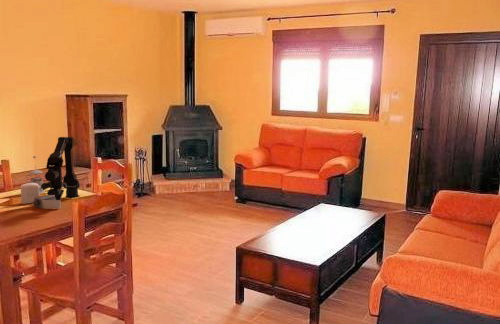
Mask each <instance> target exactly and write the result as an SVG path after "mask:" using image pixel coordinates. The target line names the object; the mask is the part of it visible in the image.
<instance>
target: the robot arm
mask: <svg viewBox="0 0 500 324" xmlns="http://www.w3.org/2000/svg"><path fill="white" fill-rule="evenodd" d="M75 145H76V138H74V137H73V136H59V137H58V138H57V142H56V146H55V148H54V151H53V152H52V153H51V154H49V156H48V157H47V161H46V166H45V169H46V170H47V171H46V172H45V173H44V179H45V180H46V181H47V182H43V183H42V185H41V188H42V189H43V190H44V191H45V190H47V189H49V190H47V192H46V193H47V194H46V195H54V196H55V198H56V200H60V201H61V199H62V197H63V194H64V192H65V194H66V195H65V198H69V199H74V198H78V197H80V195H79V190H78V189H79V188H81V183H80V181H79V179H78V177H77V176H78V175H76V173H75V172H74V171H75V170H74V157H73V149H74V148H75ZM63 154H64V158H63ZM64 163H65V164H64ZM64 165H65V166H64ZM63 166H64V167H65V174H64V176H63V173H62V172H63V171H62V168H63ZM62 188H64V189H62Z"/></svg>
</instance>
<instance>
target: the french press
mask: <svg viewBox="0 0 500 324" xmlns="http://www.w3.org/2000/svg"><path fill="white" fill-rule="evenodd" d="M32 158H34V159H36V158H37V156H36V155H33V156H32ZM34 165H35V166H34V167H35V169H34V170H31V171H30V172H29V173H28V175H27V176H26V177H25V179H26V180H25V181H26V183H37V184H38V185H39V194H40V195H41V194H44V193H46V191H45V190H43V189H42V188H41V185H42V183H44V180H43V178H42V177H38V176H35V177H32V175H40V174H43V171H41V170H38V169H37V167H36V164H34ZM29 177H31V178H30V181H29V180H28V178H29Z"/></svg>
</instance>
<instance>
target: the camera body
mask: <svg viewBox="0 0 500 324" xmlns="http://www.w3.org/2000/svg"><path fill="white" fill-rule="evenodd" d="M42 200H56V198H55V196H54V195H47V194H46V195H45V194H44V195H41V196H38V197H35V198H34V201H33V203H32V204H33V206H34V207H35V208H39V209H42V210H44V209H43V207H42Z"/></svg>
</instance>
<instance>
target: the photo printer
mask: <svg viewBox="0 0 500 324" xmlns="http://www.w3.org/2000/svg"><path fill="white" fill-rule="evenodd" d="M39 186H40V185H38V184H37V183H30V182H29V183H28V182H26V183H24V184H21V186H20V201H21V204H22V205H25V204H26V205H27V204H33V201H34V198H35V197H38V196H40V195H41V194H39Z"/></svg>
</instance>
